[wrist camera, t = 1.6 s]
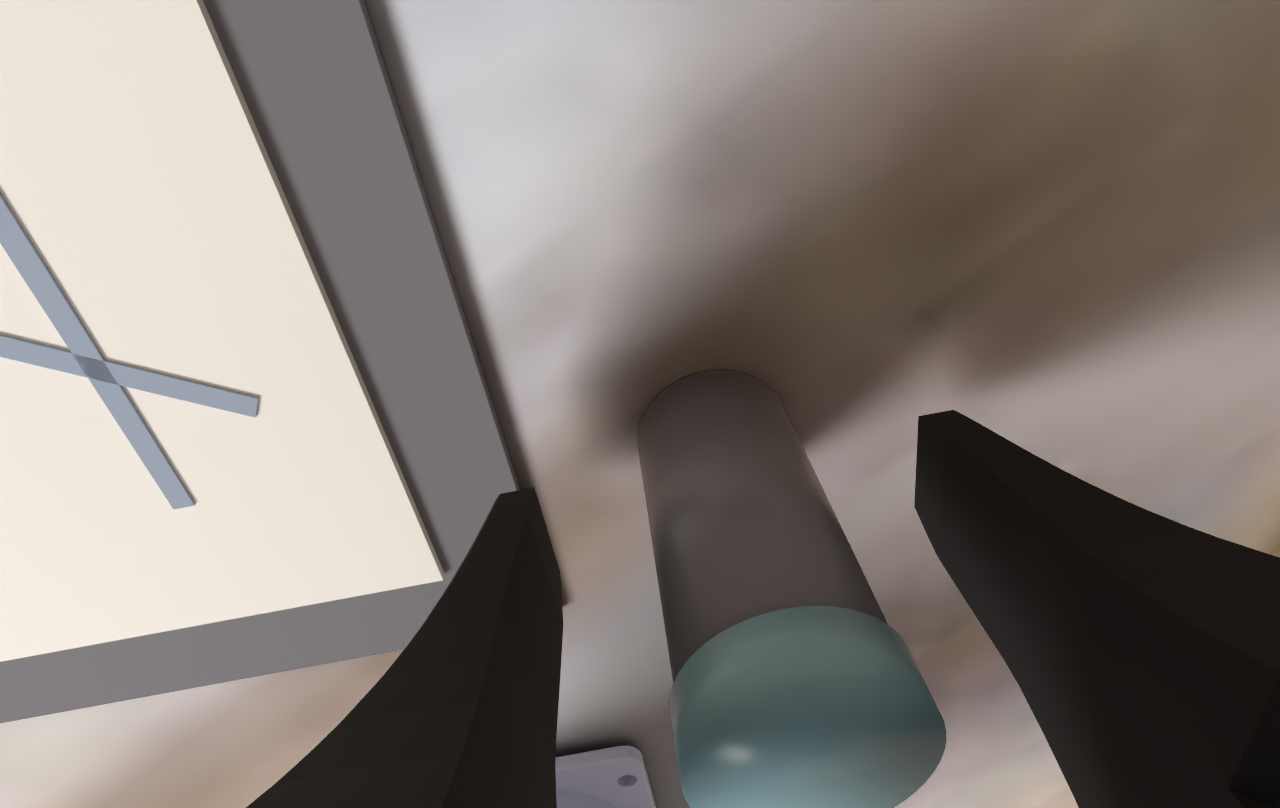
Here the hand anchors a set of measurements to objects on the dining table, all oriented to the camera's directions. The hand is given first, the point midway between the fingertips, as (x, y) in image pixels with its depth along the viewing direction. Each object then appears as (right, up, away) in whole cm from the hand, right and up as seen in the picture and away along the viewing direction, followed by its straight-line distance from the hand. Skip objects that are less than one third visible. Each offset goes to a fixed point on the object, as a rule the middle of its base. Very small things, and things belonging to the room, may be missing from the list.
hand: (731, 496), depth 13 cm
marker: (0, +1, +2) cm, 2 cm away
